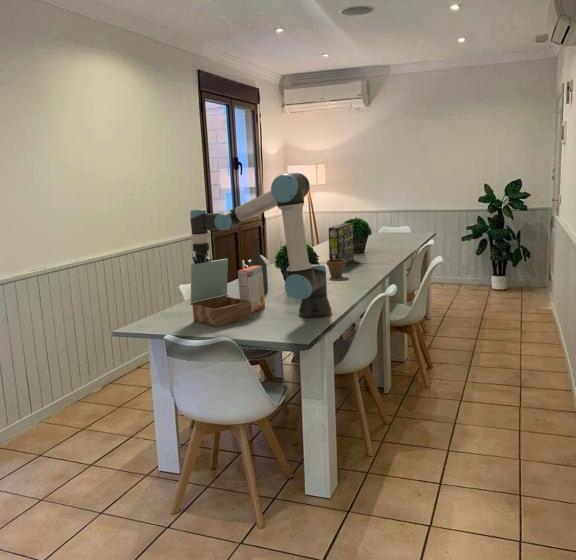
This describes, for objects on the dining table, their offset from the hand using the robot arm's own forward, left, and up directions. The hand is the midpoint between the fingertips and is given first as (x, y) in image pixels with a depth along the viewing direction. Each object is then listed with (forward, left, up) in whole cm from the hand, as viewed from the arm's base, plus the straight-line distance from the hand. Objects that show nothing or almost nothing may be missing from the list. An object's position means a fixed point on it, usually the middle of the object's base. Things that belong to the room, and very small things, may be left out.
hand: (204, 291), depth 277 cm
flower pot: (+13, -104, -12) cm, 105 cm away
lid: (-5, 0, +6) cm, 8 cm away
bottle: (+19, -48, -12) cm, 53 cm away
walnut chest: (-14, 0, -11) cm, 18 cm away
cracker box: (-11, -20, -12) cm, 25 cm away
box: (+42, -140, -12) cm, 147 cm away
